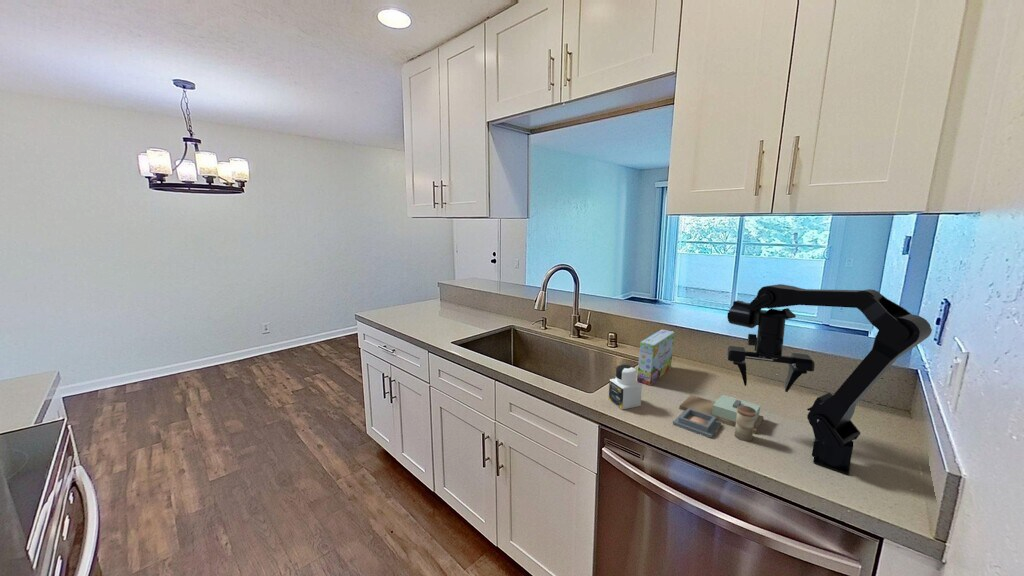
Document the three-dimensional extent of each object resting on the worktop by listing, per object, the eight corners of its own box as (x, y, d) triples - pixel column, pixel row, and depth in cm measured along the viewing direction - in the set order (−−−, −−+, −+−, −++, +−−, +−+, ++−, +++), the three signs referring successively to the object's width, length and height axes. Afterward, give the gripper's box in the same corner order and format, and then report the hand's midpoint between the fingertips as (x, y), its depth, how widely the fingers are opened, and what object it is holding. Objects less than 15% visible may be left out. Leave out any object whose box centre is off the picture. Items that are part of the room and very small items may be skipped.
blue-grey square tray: (721, 425, 107) (721, 417, 106) (711, 438, 100) (712, 430, 100) (684, 412, 113) (684, 405, 113) (672, 424, 107) (673, 417, 106)
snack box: (651, 386, 131) (654, 344, 128) (636, 382, 135) (638, 341, 132) (672, 368, 147) (675, 331, 144) (657, 364, 151) (660, 328, 148)
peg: (753, 436, 101) (757, 409, 99) (750, 443, 98) (753, 414, 96) (736, 431, 104) (739, 403, 102) (732, 437, 101) (735, 409, 99)
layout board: (763, 419, 109) (763, 415, 109) (755, 433, 102) (755, 429, 102) (690, 397, 123) (691, 394, 123) (679, 408, 116) (679, 405, 116)
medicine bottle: (608, 399, 122) (609, 364, 119) (626, 396, 124) (628, 361, 122) (621, 410, 115) (624, 372, 113) (641, 406, 117) (643, 369, 115)
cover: (759, 415, 110) (760, 403, 109) (751, 427, 103) (753, 414, 102) (721, 403, 116) (722, 392, 116) (712, 414, 110) (713, 402, 109)
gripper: (807, 328, 102) (801, 383, 105) (728, 321, 111) (724, 372, 113) (818, 339, 93) (811, 399, 95) (730, 331, 101) (725, 386, 104)
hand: (765, 388), depth 102 cm, fingers open, 9 cm apart
